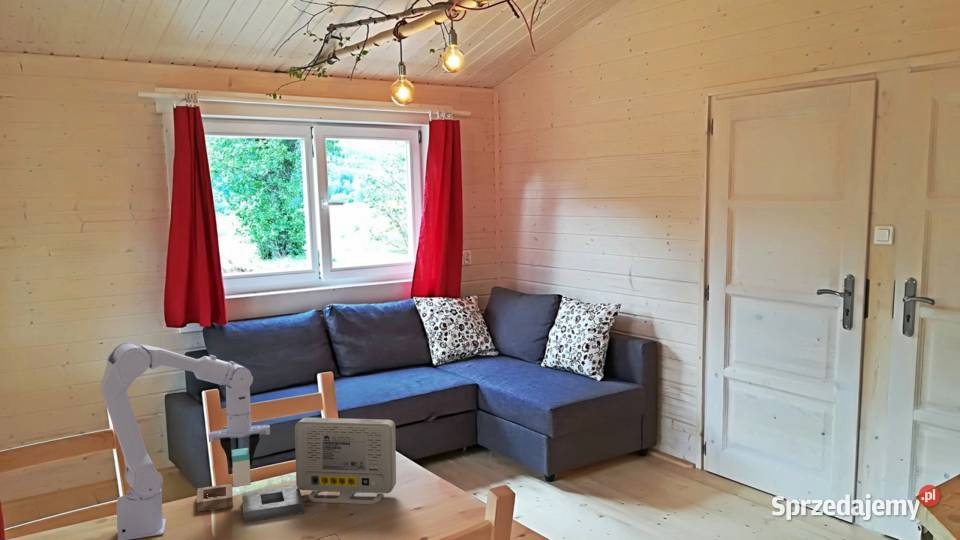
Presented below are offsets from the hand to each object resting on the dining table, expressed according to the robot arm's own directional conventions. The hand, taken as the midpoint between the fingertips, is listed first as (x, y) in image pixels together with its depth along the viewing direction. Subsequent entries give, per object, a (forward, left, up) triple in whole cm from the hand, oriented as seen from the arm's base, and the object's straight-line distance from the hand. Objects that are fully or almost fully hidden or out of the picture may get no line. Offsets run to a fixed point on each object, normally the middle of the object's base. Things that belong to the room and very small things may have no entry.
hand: (241, 465), depth 173 cm
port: (+7, -5, -10) cm, 13 cm away
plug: (0, 0, -5) cm, 5 cm away
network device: (+25, -5, -11) cm, 28 cm away
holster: (-7, +4, -10) cm, 13 cm away
